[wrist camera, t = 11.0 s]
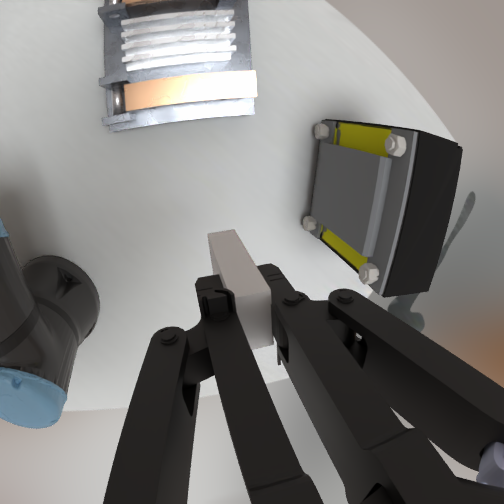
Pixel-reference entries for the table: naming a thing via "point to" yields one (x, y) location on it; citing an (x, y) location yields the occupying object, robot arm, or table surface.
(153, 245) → the table surface
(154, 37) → the heatsink base
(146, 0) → the lever
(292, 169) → the table surface
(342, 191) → the electrical component
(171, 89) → the lever
